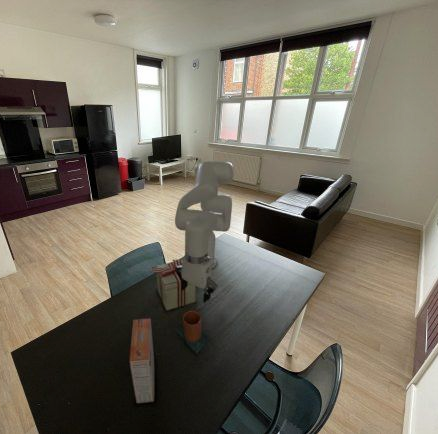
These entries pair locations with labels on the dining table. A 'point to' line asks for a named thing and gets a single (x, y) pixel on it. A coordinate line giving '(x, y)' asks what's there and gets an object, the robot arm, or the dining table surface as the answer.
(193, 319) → the cup
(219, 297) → the dining table surface
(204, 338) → the terrain model
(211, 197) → the robot arm
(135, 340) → the cracker box
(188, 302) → the gift box
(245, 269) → the dining table surface
